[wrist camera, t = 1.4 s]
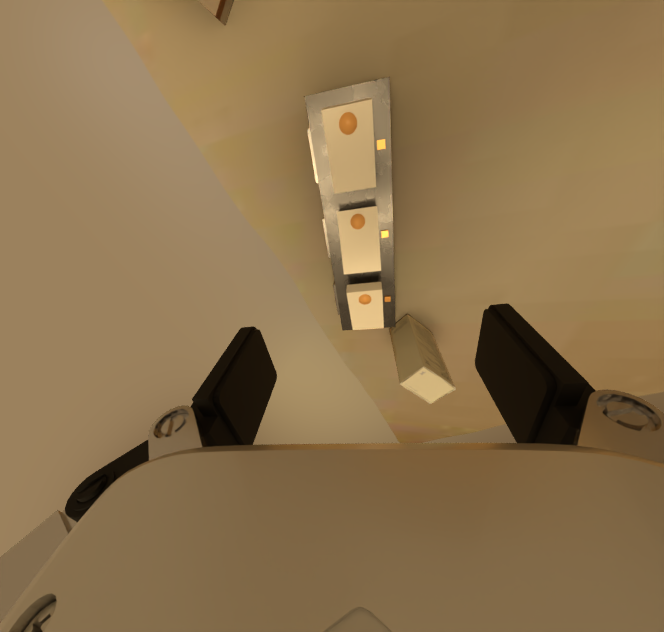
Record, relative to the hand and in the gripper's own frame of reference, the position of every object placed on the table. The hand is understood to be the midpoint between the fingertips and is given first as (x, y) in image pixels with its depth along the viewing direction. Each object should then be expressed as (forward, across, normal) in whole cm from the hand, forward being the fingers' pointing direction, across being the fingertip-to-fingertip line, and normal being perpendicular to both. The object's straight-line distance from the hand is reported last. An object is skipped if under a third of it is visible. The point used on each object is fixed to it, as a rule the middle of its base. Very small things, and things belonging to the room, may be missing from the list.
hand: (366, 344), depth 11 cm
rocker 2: (+21, 0, +11) cm, 24 cm away
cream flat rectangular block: (+21, 0, +2) cm, 21 cm away
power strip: (+27, 0, +2) cm, 27 cm away
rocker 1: (+21, 0, -7) cm, 22 cm away
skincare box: (+27, -6, +20) cm, 34 cm away
